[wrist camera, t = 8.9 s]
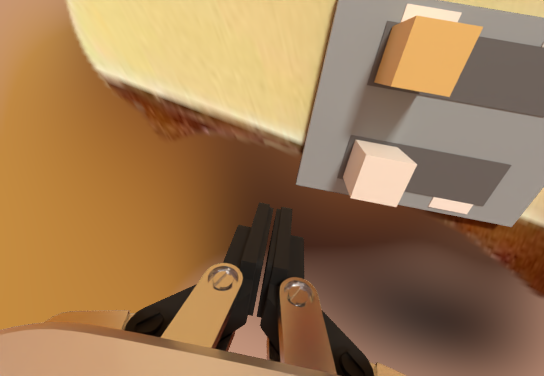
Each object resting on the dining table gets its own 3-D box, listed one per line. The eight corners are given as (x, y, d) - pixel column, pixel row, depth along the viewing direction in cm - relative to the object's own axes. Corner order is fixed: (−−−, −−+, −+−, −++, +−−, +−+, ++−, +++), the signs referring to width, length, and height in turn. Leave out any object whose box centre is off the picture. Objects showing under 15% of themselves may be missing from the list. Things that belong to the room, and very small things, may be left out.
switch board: (641, 39, 18) (665, 37, 17) (503, 220, 26) (512, 227, 25) (340, -12, 19) (342, -17, 17) (296, 180, 27) (295, 185, 25)
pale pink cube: (397, 147, 22) (417, 164, 18) (381, 184, 24) (396, 207, 20) (355, 139, 22) (366, 154, 19) (342, 176, 24) (350, 198, 20)
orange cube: (444, 35, 18) (483, 26, 14) (421, 90, 20) (449, 97, 16) (392, 26, 18) (416, 15, 14) (373, 82, 20) (390, 86, 16)
